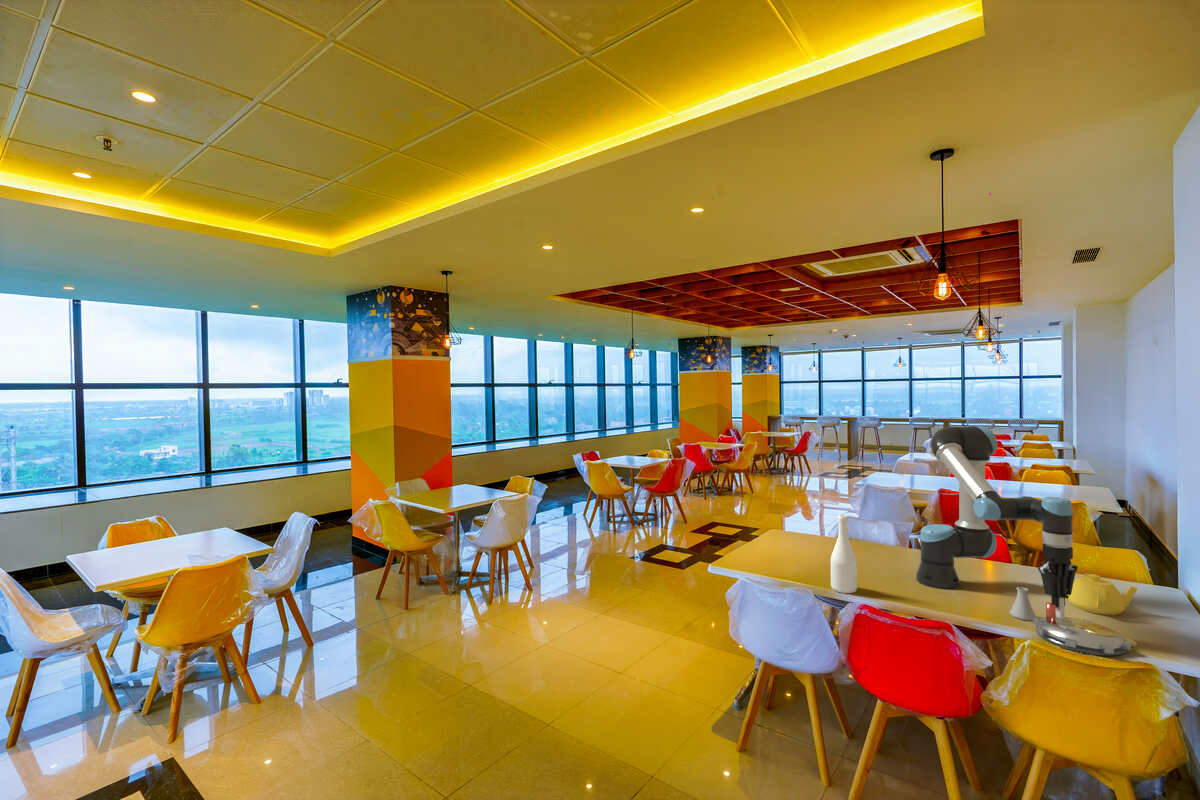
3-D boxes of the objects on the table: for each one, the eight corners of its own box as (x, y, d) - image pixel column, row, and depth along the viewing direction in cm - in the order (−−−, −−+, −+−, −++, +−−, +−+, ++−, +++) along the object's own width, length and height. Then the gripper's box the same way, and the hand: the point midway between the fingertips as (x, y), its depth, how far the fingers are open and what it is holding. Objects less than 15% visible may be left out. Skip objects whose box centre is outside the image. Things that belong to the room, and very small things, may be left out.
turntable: (1122, 661, 150) (1122, 633, 150) (1023, 633, 168) (1023, 608, 168) (1137, 638, 163) (1136, 612, 163) (1043, 614, 182) (1043, 591, 182)
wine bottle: (860, 589, 211) (859, 515, 211) (852, 596, 204) (851, 519, 204) (835, 583, 218) (834, 511, 218) (827, 590, 211) (826, 515, 211)
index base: (1060, 652, 158) (1060, 648, 158) (1022, 622, 178) (1022, 619, 178) (1160, 661, 152) (1160, 657, 152) (1109, 629, 173) (1109, 625, 172)
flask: (1004, 613, 186) (1004, 585, 186) (1023, 612, 187) (1022, 584, 187) (1022, 622, 179) (1022, 593, 179) (1041, 620, 180) (1041, 592, 180)
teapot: (1104, 620, 180) (1103, 585, 180) (1052, 601, 196) (1051, 569, 196) (1139, 614, 184) (1139, 580, 184) (1085, 597, 200) (1085, 565, 200)
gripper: (1052, 549, 167) (1053, 623, 168) (1086, 547, 169) (1087, 619, 169) (1029, 543, 175) (1030, 613, 175) (1062, 540, 177) (1063, 610, 177)
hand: (1058, 616), depth 172 cm, fingers closed
